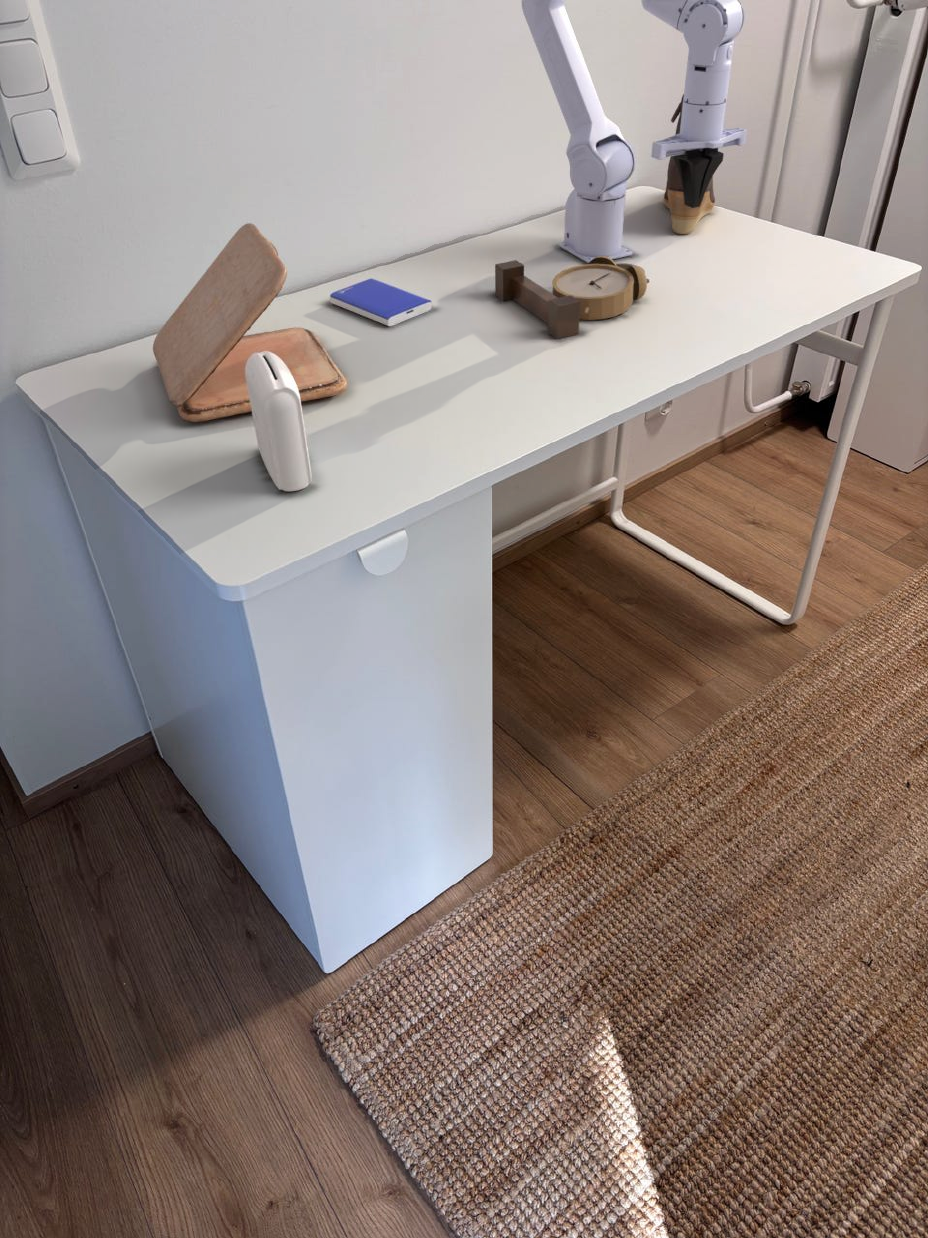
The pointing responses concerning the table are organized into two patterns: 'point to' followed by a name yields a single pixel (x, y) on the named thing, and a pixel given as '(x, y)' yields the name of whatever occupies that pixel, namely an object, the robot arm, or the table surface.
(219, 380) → the case
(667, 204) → the boot
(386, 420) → the table surface
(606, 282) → the alarm clock
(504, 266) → the dumbbell
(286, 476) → the photo printer
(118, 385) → the table surface
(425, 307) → the hard drive
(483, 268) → the table surface
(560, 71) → the robot arm
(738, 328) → the table surface
